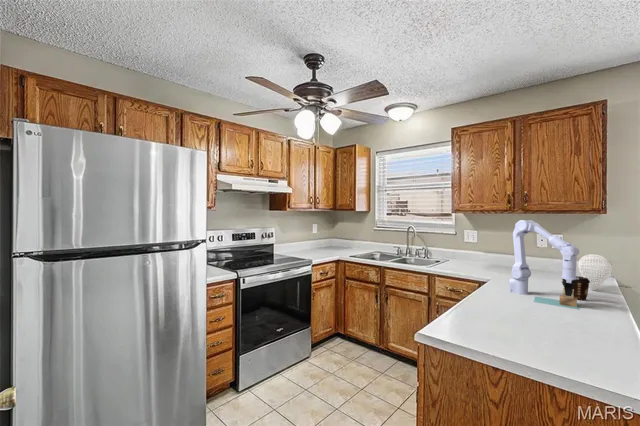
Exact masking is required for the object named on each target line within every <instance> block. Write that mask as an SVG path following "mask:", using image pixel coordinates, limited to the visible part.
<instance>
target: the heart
mask: <svg viewBox="0 0 640 426" xmlns="http://www.w3.org/2000/svg"><path fill="white" fill-rule="evenodd" d="M578 271H579V273H580V275H581V277H584V278H585V277H586V278H588V279H589V281H590V283H589V289H590V290H592V291H597V290H598V289H599V288H600V287H601V286H602V285H603V284H604V283H605V281H606V280H607V279H608V278H609V277H610V275H611V274H612V272H613V267H612V265H611V263H610V262H609V260H608V259H607V258H606V257H604V256H602V255H599V254H596V253H595V254H594V253H593V254H592V253H591V254H585V255H584V256H582V257H580V258H579V260H578Z"/></svg>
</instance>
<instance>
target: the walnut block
mask: <svg viewBox="0 0 640 426" xmlns="http://www.w3.org/2000/svg"><path fill="white" fill-rule="evenodd" d="M559 300H560V303H559V305H565V306H571V307H577V303H578V300H577V298H575V297H573V299H567V298H562V295H559Z"/></svg>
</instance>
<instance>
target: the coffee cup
mask: <svg viewBox="0 0 640 426" xmlns="http://www.w3.org/2000/svg"><path fill="white" fill-rule="evenodd" d="M576 278H579V280H577V279H576V281H575V284H576V285H575V286H574V288H573V289H574V297H575V298H577V301H582V302H587V297H588V294H589V293H588V292H589V289H590V288H589V283H590V282H591V281H589V279H588V278H589V277H588V278H586V277H585V278H584V277H582V276H577V275H576Z"/></svg>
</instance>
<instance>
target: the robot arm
mask: <svg viewBox="0 0 640 426" xmlns="http://www.w3.org/2000/svg"><path fill="white" fill-rule="evenodd" d="M531 232H534V233H536V234H538V235H540V236H541V237H543V238H544V239H546V240H547V241H548V244H549V245H551V247H554V248H555V249H556V250H557V251H559V252H560V255H561V256H562V268H561V278H562V279H561V280H562V281H561V284H562V286H563V288H564V289H565V295H566V296H571V295H572V291H573V288H574V286H575V285H576V284H575V281H576V279H577V280H579V278H576V276H577V262H578V261H577V259H578V255H579V254H580V249H579V247H577V246H576V245H573V244H571V242H567V241H566V240H564V239H563V237H562V236H559V235H553V234H552V233H550V232H549V231H548V230H547V229H545V228H544V227H542V226H541V225H540V224H539V223H538V222H536V221H535V220H531V219H530V220H523V219H520V220H518V221H517V222H516V223H515V224H514V229H513V232H512V239H513V241H512V243H513V252H514V253H513V254H514V264H513V265H512V269H511V276H512V277H510V278H509V284H508V285H509V286H508V292H509V293H511V294H512V293H513V294H517V295H523V296H526V295H529V294H528V293H529V278H530V277H531V276H532V272H531V270H530V267H529V265H528V263H527V261H526V259H527V258H526V247H525V236H527V234H528V233H531Z"/></svg>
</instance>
